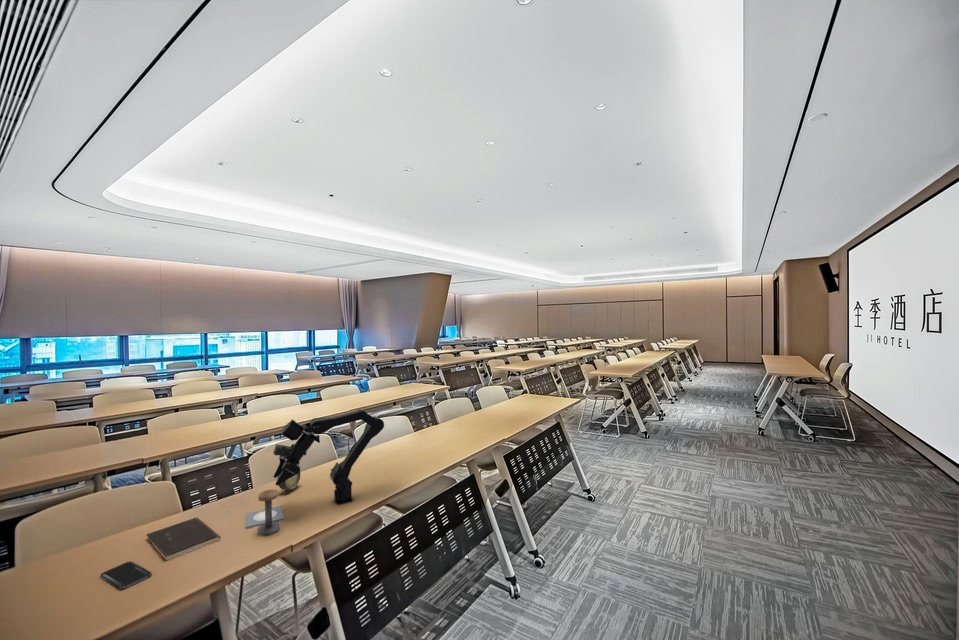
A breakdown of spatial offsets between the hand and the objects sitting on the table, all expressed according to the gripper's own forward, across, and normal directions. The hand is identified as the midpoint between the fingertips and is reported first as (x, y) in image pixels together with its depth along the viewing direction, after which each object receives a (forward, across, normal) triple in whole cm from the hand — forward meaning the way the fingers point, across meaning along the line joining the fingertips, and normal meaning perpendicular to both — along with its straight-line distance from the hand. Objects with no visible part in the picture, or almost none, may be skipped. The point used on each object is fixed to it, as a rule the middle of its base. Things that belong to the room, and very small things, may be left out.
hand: (275, 481), depth 159 cm
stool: (+13, +11, +7) cm, 18 cm away
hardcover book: (+31, 0, -14) cm, 33 cm away
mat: (+13, -2, +6) cm, 15 cm away
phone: (+38, +17, -23) cm, 48 cm away
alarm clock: (+7, -25, +15) cm, 30 cm away
